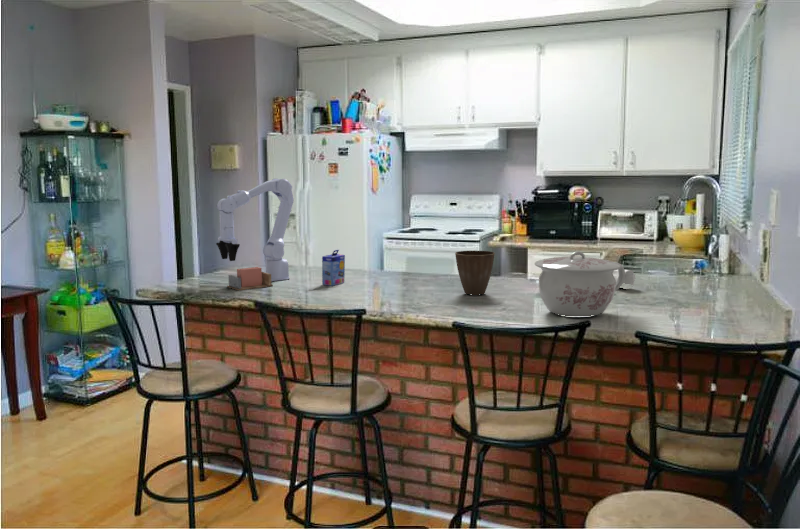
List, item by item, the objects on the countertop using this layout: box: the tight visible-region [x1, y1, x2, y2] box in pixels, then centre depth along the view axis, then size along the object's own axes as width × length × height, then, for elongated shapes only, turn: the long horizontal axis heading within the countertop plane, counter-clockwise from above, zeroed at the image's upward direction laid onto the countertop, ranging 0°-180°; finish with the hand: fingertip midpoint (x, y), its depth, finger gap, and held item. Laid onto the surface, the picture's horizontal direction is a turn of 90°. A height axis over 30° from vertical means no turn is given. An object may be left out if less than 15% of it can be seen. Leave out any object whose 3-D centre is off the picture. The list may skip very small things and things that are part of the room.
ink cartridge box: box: [321, 249, 346, 287], centre depth 270 cm, size 10×6×14 cm, turn 152°
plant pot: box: [454, 250, 496, 296], centre depth 247 cm, size 15×15×16 cm
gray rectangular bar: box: [228, 274, 241, 289], centre depth 261 cm, size 1×9×4 cm, turn 39°
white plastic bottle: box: [612, 268, 636, 286], centre depth 261 cm, size 8×19×8 cm, turn 31°
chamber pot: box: [534, 251, 626, 316], centre depth 211 cm, size 28×28×21 cm
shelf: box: [227, 271, 273, 291], centre depth 266 cm, size 15×10×5 cm, turn 129°
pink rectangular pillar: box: [236, 266, 263, 287], centre depth 265 cm, size 9×4×7 cm, turn 128°
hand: (228, 259), depth 270 cm, fingers open, 7 cm apart
